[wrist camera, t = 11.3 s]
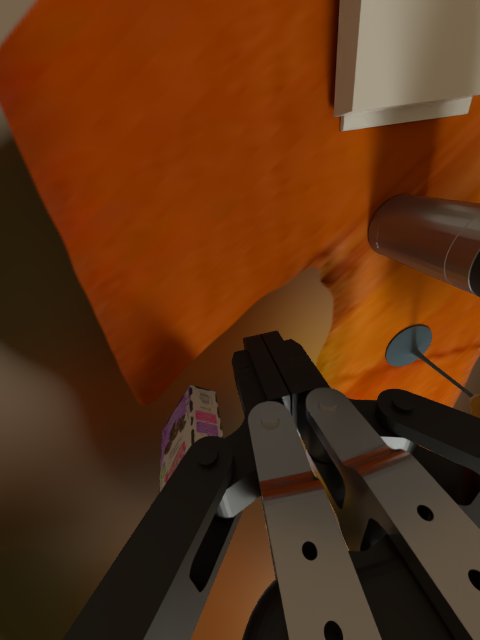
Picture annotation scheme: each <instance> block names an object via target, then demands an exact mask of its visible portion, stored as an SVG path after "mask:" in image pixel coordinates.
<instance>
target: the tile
mask: <svg viewBox="0 0 480 640" xmlns="http://www.w3.org/2000/svg"><path fill="white" fill-rule="evenodd" d="M477 95H480V0H340V7H339V25H338V44H337V63H336V81H335V100H334V117H338V116H346V115H353V114H361V113H369V112H376V111H384V110H392V109H399V108H407V107H414V106H422V105H430V104H437V103H445V102H451V101H455V100H460V99H464V98H468V97H472V96H477Z"/></svg>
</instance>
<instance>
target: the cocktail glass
mask: <svg viewBox="0 0 480 640" xmlns="http://www.w3.org/2000/svg"><path fill="white" fill-rule="evenodd" d="M431 340H432V333H431V331H430V329H429V328H427V327H426V326H421V325H418V326H412V327H409V328H407V329H405V330H403V331H402V332H400V333H399V334H398V335H397V336H396V337H394V339H393V340H392V341H391V342H390V344H389V345H388V347H387V350H386V360H387V362H388V363H389V364H390V365H392V366H405V365H408V364H410V363H412V362H414V361H415V360H417V359H418V358H420V359H421V360H423V361H424V362H426V363H427V364H428V365H430V366H431V367H432V368H434V369H435V370H436V371H438V372H439V373H440V374H441V375H443V376H444V377H445V378H447V379H448V380H449V381H450V382H452V383H453V384H454V385H456V386H457V387H458V388H459V389H461V390H462V391H463V392H464V393H466V394H467V395H468V396H469V397H471V398H470V406H471V411H472V414H471V415H473V416H475V417H478V418H480V394H475V395H473V394H472V393H470V392H469V391H468V390H466V389H465V388H464V387H463V386H461V385H460V384H459V383H457V382H456V381H455V380H454V379H452V378H451V377H450V376H448V375H447V374H446V373H445V372H443V371H442V370H441V369H440V368H438V367H437V366H436V365H434V364H433V363H432V362H431V361H430V360H428V359H427V358H426V357H425V356H424V355H423V354H424V353H425V351H426V350H427V349H428V347H429V345H430V343H431Z"/></svg>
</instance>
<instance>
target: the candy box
mask: <svg viewBox="0 0 480 640" xmlns="http://www.w3.org/2000/svg"><path fill="white" fill-rule="evenodd" d="M206 436H218V437H221V438H223V433H222V427H221V421H220V416H219V409H218V403H217V396H216V392H214V391H211V390H207V389H203V388H200V387H197V386H193V385H190V386H189V387H188V389H187V390H186V392H185V393H184V395H183V397H182V398H181V400H180V402H179V404H178V405H177V407H176V409H175V410H174V412H173V414H172V415H171V417H170V419H169V420H168V422H167V424H166V426H165V427H164V429H163V430H162V449H161V467H160V488H159V493H160V491H161V490H162V488H163V487H164V485H165V484H166V482H167V481H168V479H169V478H170V476H171V475H172V473H173V472H174V470H175V469H176V467H177V466H178V464H179V463H180V461H181V460H182V458H183V457H184V455H185V454H186V452H187V451H188V449H189V448H190V446H191V445H192V444H193V443H194V442H196V441H197V440H199V439H201V438H203V437H206Z"/></svg>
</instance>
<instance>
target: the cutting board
mask: <svg viewBox="0 0 480 640" xmlns="http://www.w3.org/2000/svg"><path fill="white" fill-rule="evenodd" d="M471 100H472V97H468V98H464V99H460V100H455V101H451V102H445V103H437V104H430V105H422V106H414V107H407V108H399V109H392V110H384V111H376V112H369V113H361V114H353V115H346V116H341V122H340V131H347V130H354V129H362V128H369V127H376V126H383V125H391V124H398V123H405V122H412V121H419V120H427V119H434V118H441V117H448V116H456V115H463V114H468V111H469V107H470V103H471Z"/></svg>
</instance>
